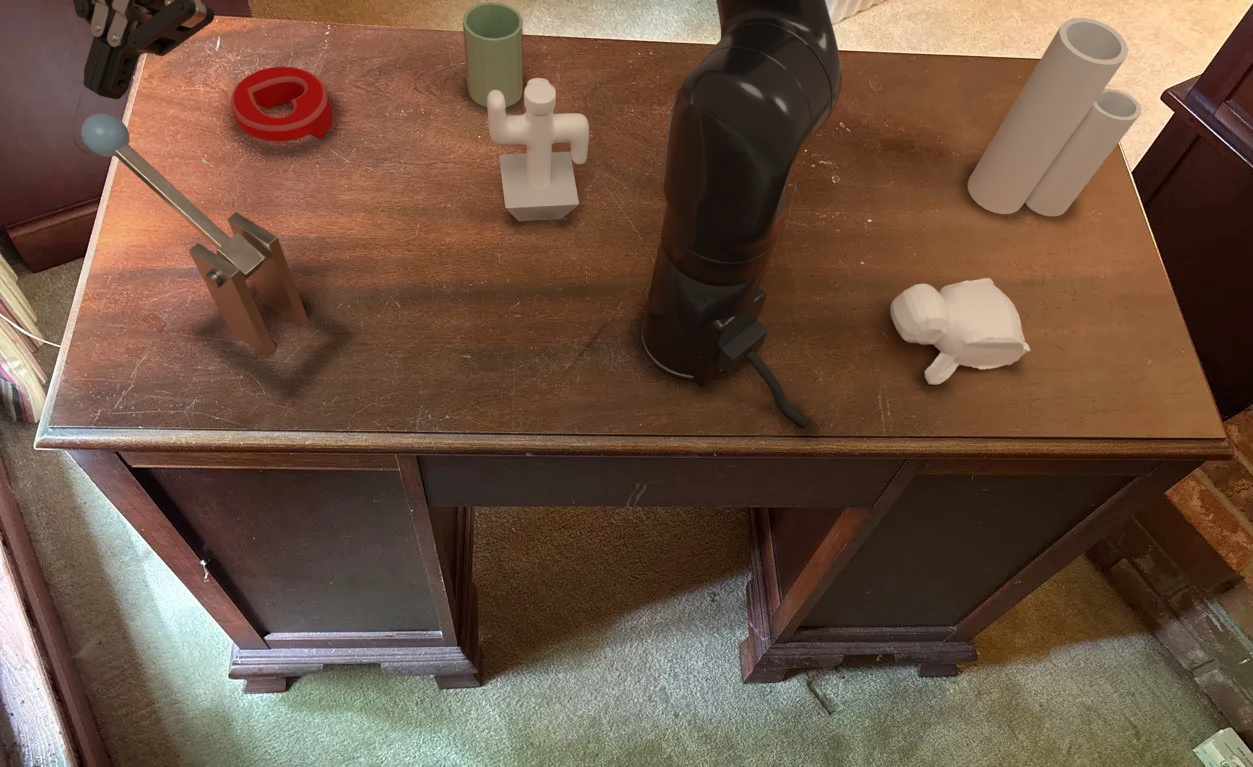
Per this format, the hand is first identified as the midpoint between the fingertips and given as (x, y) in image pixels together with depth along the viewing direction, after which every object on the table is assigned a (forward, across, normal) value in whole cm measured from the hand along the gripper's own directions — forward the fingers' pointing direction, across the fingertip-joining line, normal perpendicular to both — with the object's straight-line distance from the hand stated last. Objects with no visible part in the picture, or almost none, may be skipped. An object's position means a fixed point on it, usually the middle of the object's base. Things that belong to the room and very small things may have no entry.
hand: (102, 93), depth 65 cm
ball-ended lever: (+6, +5, +5) cm, 9 cm away
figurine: (-4, +21, +33) cm, 40 cm away
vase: (-28, +63, +57) cm, 89 cm away
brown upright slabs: (+15, +11, +14) cm, 23 cm away
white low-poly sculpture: (-10, +63, +39) cm, 75 cm away
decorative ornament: (+1, -7, +29) cm, 30 cm away
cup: (-12, +8, +41) cm, 43 cm away
